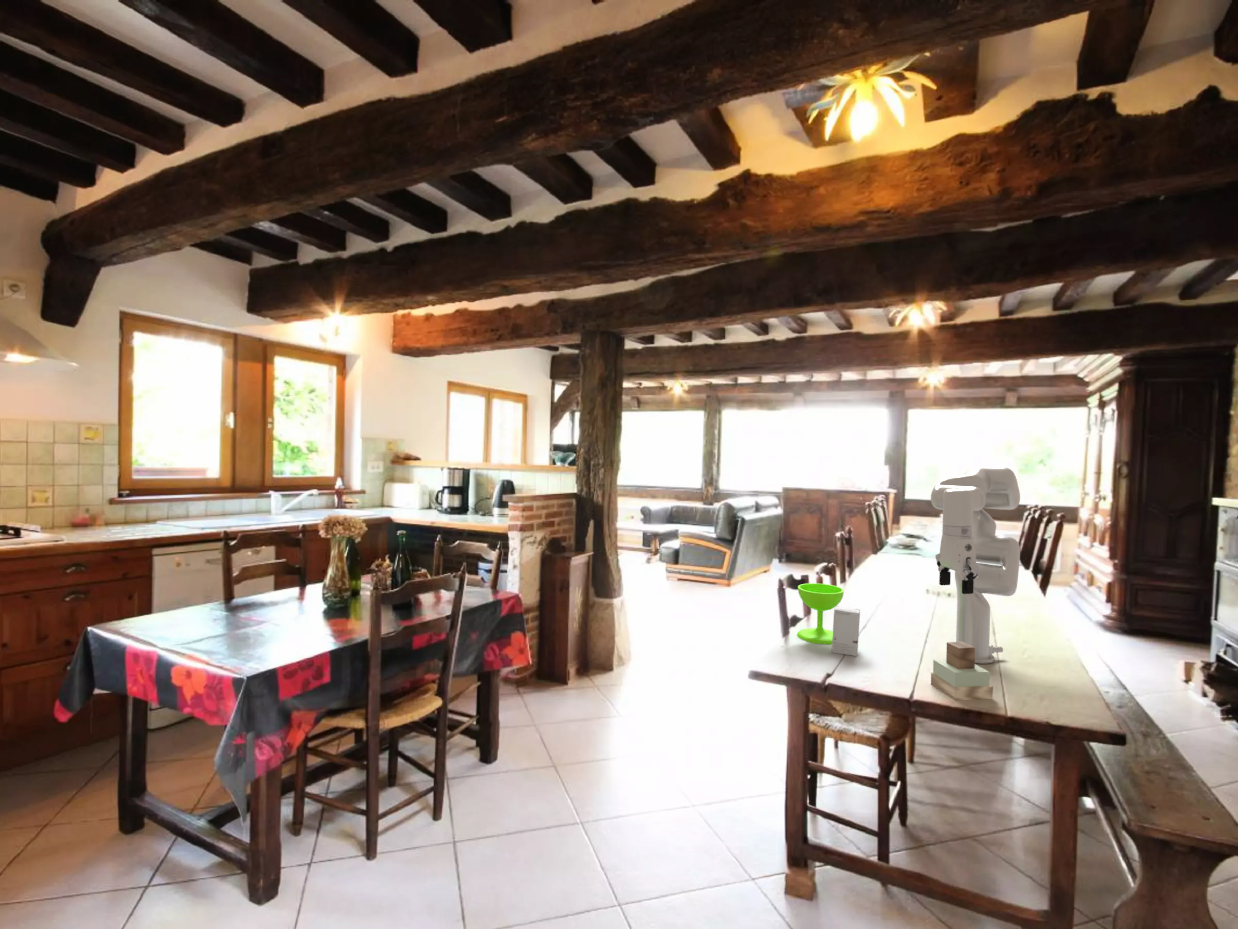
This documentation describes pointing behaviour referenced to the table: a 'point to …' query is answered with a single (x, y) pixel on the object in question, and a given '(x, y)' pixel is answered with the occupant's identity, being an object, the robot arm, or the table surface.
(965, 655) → the walnut block
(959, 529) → the robot arm
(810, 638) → the wineglass
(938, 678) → the block bottom
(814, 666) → the table surface
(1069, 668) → the table surface
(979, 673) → the block top
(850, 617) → the skincare box
